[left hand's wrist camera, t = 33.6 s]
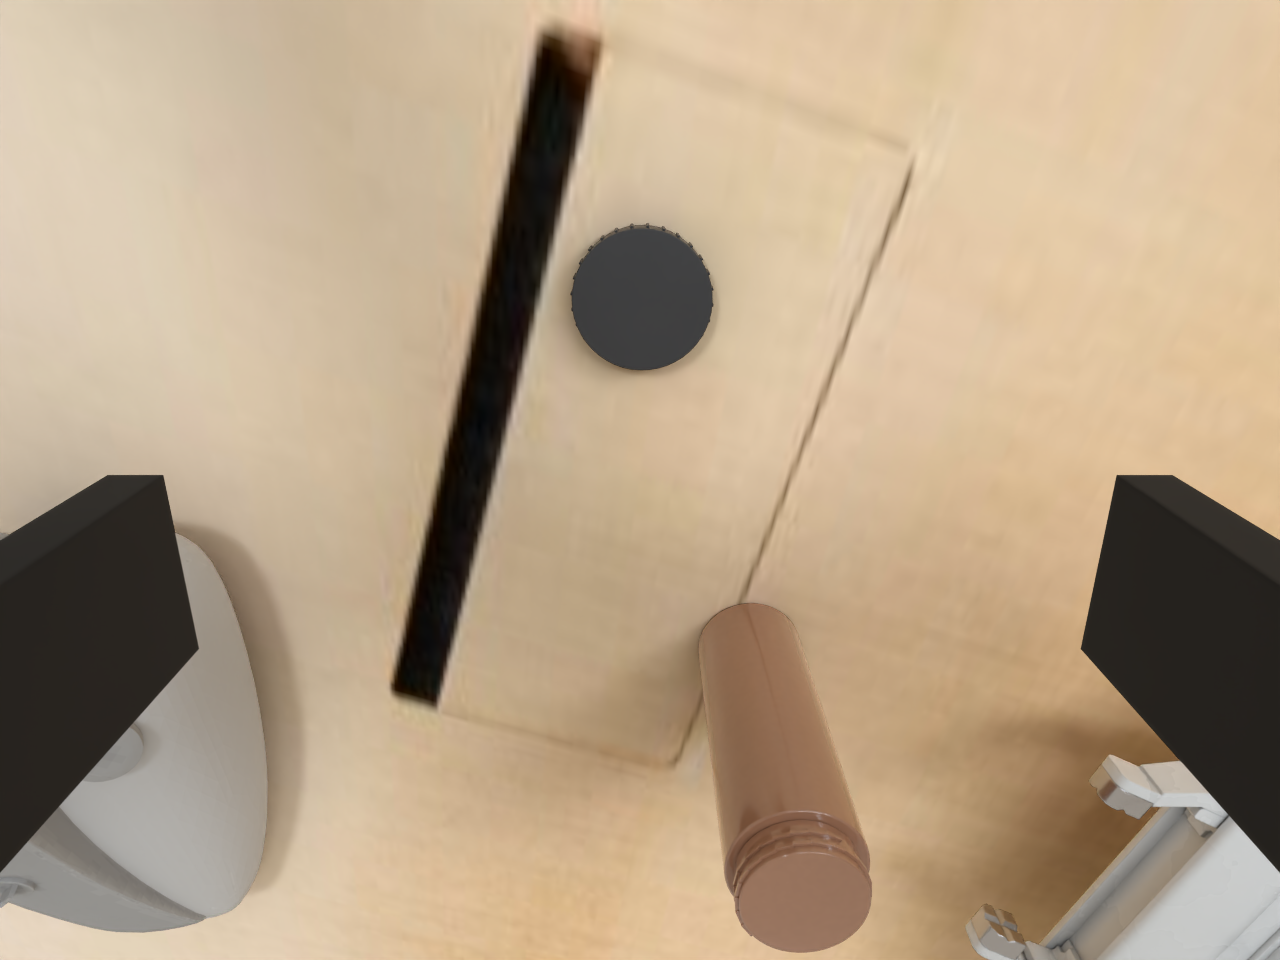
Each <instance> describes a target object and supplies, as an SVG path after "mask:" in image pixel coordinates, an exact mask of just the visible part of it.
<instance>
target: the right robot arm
mask: <svg viewBox="0 0 1280 960" xmlns="http://www.w3.org/2000/svg"><path fill="white" fill-rule="evenodd" d="M1089 783H1090V784H1091V786H1092V787H1094V788H1097V794H1098V796H1099V797H1100V799H1101V800H1102V801H1103V802H1104V803H1106V804H1107V805H1108V806H1110V807H1111V808H1113V809H1116V810H1124V812H1125V813H1126V814H1127V815H1129V816H1132V817H1134V818H1136V819H1140V818H1141V817H1142V816H1143V815H1144V814H1145V813H1146V812H1147V811H1148V810H1149V809H1150V808H1151V806H1152V807H1160V808H1159V810H1158V811H1157V812H1156V813H1155V814H1154V815H1153V816H1152V817H1151V819H1150V820H1149V821H1148V822H1147V823H1146V824H1145V825H1144V826H1143V828H1142V829H1141V830H1140V831H1139V832H1138V833H1137V834H1136V835H1135V837H1134V838H1133V839H1132V840H1131V841H1130V842H1129V843H1128V844H1127V845H1126V847H1125V848H1124V849H1123V850H1122V851H1121V852H1120V853H1119V854H1118V856H1117V857H1116V858H1115V859H1114V860H1113V861H1112V862H1111V863H1110V865H1109V866H1108V867H1107V868H1106V869H1105V870H1104V871H1103V872H1102V874H1101V875H1100V876H1099V877H1098V878H1097V879H1096V880H1095V881H1094V882H1093V884H1092V885H1091V886H1090V887H1089V888H1088V889H1087V890H1086V891H1085V893H1084V894H1083V895H1082V896H1081V897H1080V898H1079V899H1078V900H1077V902H1076V903H1075V904H1074V905H1073V906H1072V907H1071V908H1070V909H1069V911H1068V912H1067V913H1066V914H1065V915H1064V916H1063V917H1062V918H1061V919H1060V921H1059V922H1058V923H1057V924H1056V925H1055V926H1054V927H1053V928H1052V930H1051V931H1050V932H1049V933H1048V934H1047V935H1046V936H1045V937H1044V939H1043V940H1042V941H1041V942H1040V943H1039V944H1036V943H1033V942H1031V941H1026V942H1024V939H1023V937H1022V935H1021V934H1020V933H1018V932H1017V924H1016V922H1015V920H1014V918H1013V916H1012V914H1011V913H1008V912H1006V911H1003V910H1001V909H996V910H994V909H993V907H992V906H991V905H988V904H984V905H982V907H981V908H980V909H979V910H978V911H977V912H976V914H975V915H974V916H973V917H972V918H971V919H970V921H969V922H968V923H967V924H966V926H965V929H966V932H967V934H968V937H969V939H970V942H971V944H972V946H973V948H974V949H975V951H976V952H977V953H978V954H979V955H981V956H982V957H984V958H986V959H989V960H1280V873H1279V871H1278V870H1277V869H1276V868H1275V867H1274V866H1273V865H1272V864H1271V862H1270V861H1269V860H1268V859H1267V858H1266V857H1265V856H1264V855H1263V853H1262V852H1261V851H1260V850H1259V849H1258V848H1257V847H1256V845H1255V844H1254V843H1253V842H1252V841H1251V840H1250V839H1249V838H1248V836H1247V835H1246V834H1245V833H1244V832H1243V831H1242V830H1241V829H1240V827H1239V826H1238V825H1237V824H1236V823H1235V822H1234V821H1233V820H1232V818H1231V817H1230V816H1229V815H1228V814H1227V813H1226V812H1225V811H1224V809H1223V808H1222V807H1221V806H1220V805H1219V804H1218V803H1217V802H1216V800H1215V799H1214V798H1213V797H1212V796H1211V795H1210V794H1209V793H1208V791H1207V790H1206V789H1205V788H1204V787H1203V786H1202V785H1201V784H1200V782H1199V781H1198V780H1197V779H1196V778H1195V777H1194V776H1193V775H1192V773H1191V772H1190V771H1189V770H1188V769H1187V768H1186V767H1185V766H1184V764H1183V763H1182V762H1181V761H1172V762H1162V763H1152V764H1142V765H1140V766H1136V765H1134V764H1132V763H1130V762H1127V761H1125V760H1123V759H1121V758H1118V757H1116V756H1114V755H1108V756H1107V758H1106V759H1105V760H1104V761H1103V763H1102V764H1101V765H1100V766H1099V767H1098V769H1097V770H1096V771H1095V772H1094V774H1093V775H1092V776H1091V778H1090V779H1089Z"/></svg>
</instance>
